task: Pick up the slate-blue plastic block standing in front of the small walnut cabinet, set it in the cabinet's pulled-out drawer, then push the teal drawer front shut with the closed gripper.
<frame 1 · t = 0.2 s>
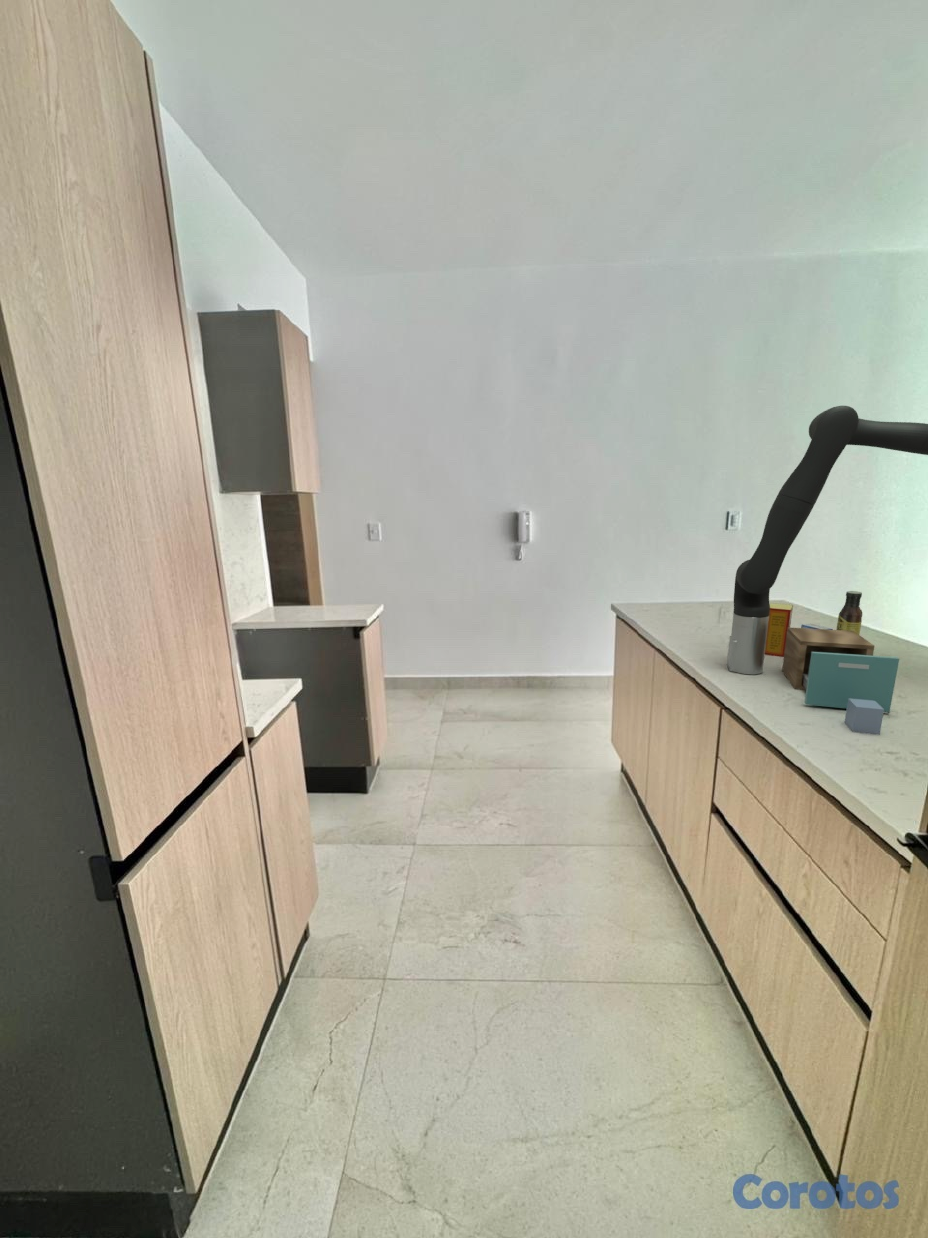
baking soda box: (774, 652, 168), on the counter
slate-blue block: (861, 728, 113), on the counter
drawer: (840, 672, 127), point 7 cm above the counter, slide at 11.0 cm
cabinet: (821, 682, 141), on the counter
sauce bottle: (844, 650, 168), on the counter
medicine box: (813, 652, 168), on the counter
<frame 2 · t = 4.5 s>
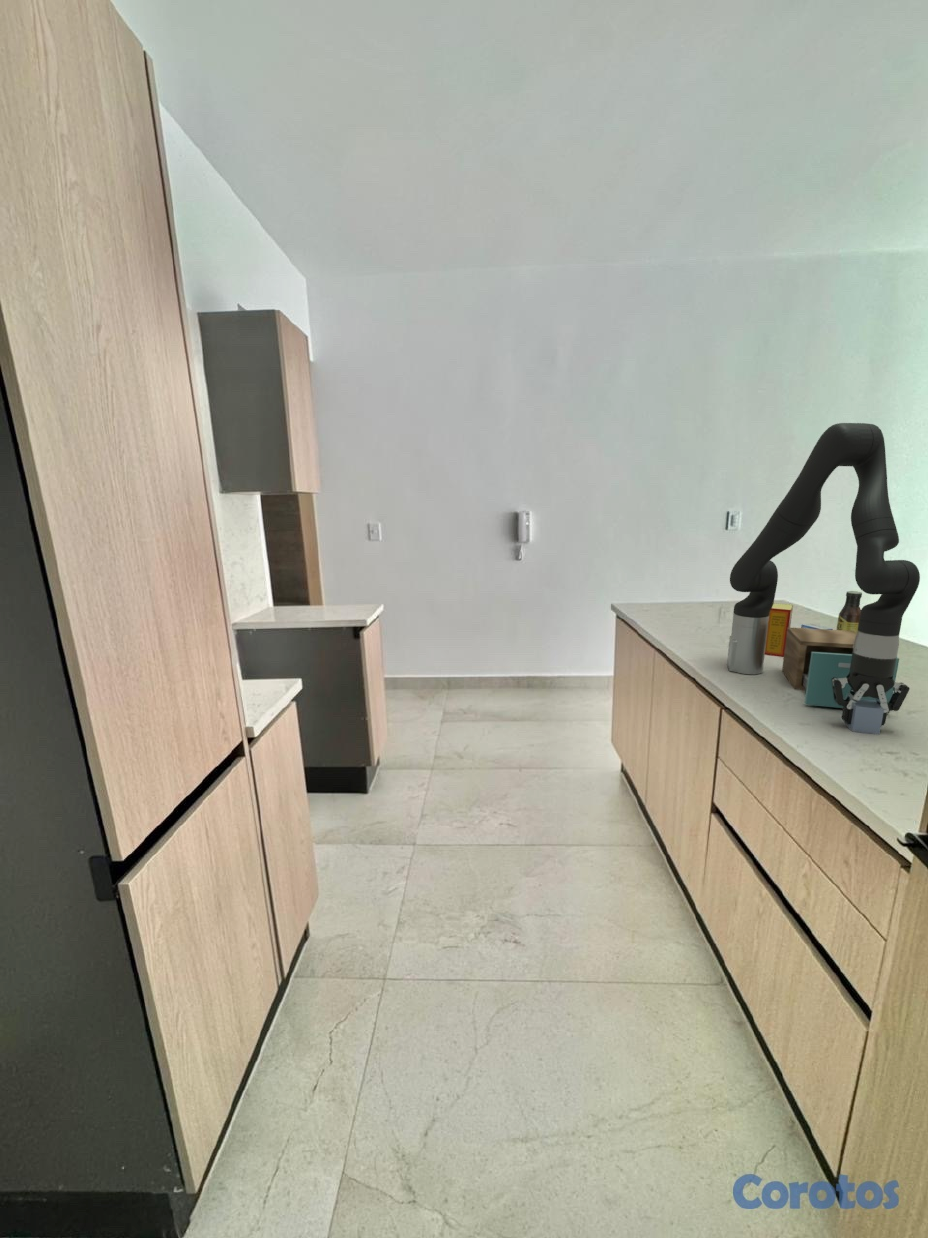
hand: (862, 724, 113), 1 cm above the counter, tool pointing down, fingers closed on slate-blue block, 5 cm apart
slate-blue block: (861, 728, 113), on the counter, touching gripper
everything else where it was.
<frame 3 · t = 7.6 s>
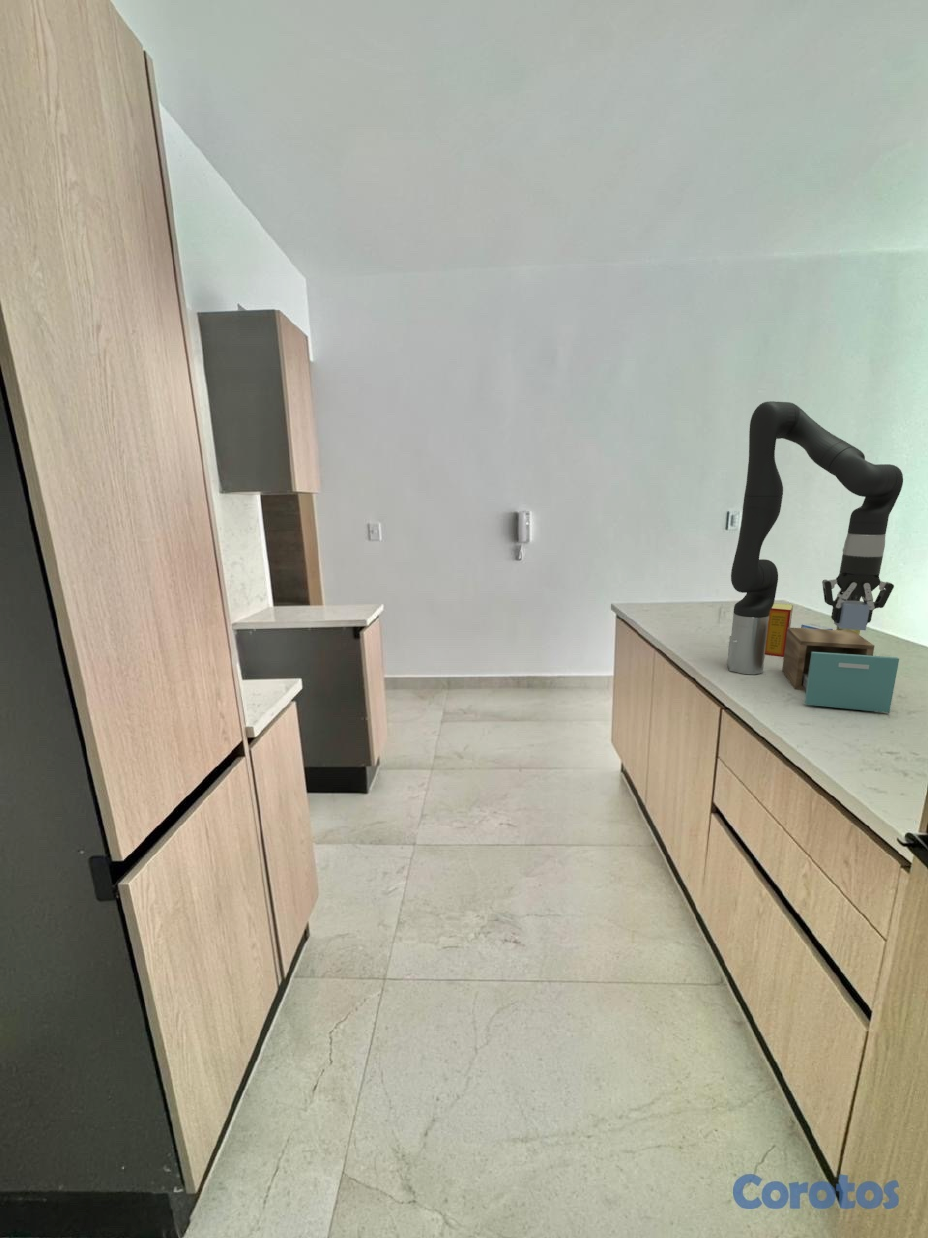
hand: (850, 622, 122), 21 cm above the counter, tool pointing down, fingers closed on slate-blue block, 5 cm apart
slate-blue block: (849, 626, 123), point 20 cm above the counter, touching gripper
everything else where it was.
when the fingers open (4 cm above the counter, at t = 10.7 s): slate-blue block stays where it is, resting on drawer.
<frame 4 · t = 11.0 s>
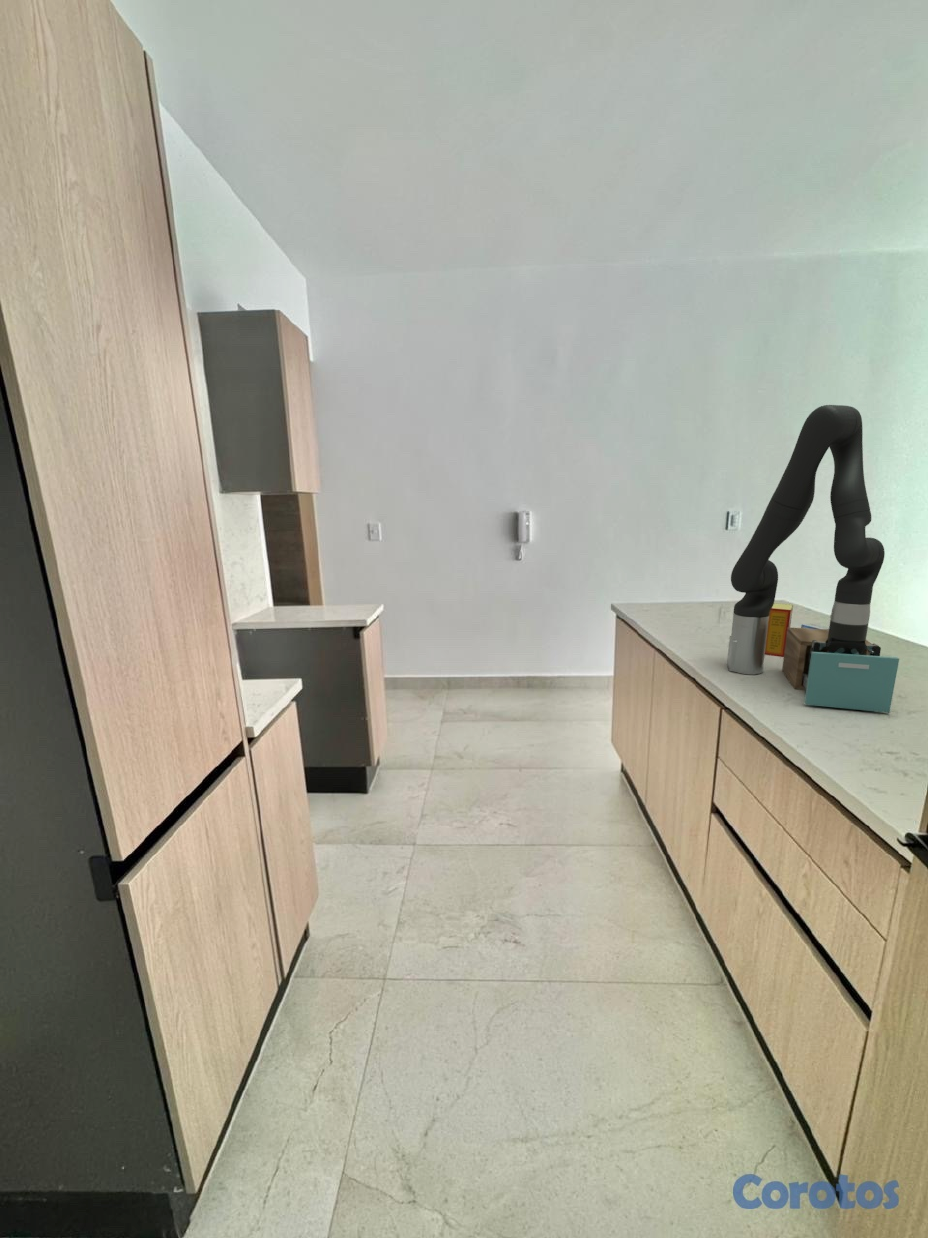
hand: (839, 682, 128), 5 cm above the counter, tool pointing down, fingers open, 8 cm apart
slate-blue block: (838, 691, 128), point 2 cm above the counter, touching drawer
drawer: (840, 672, 127), point 7 cm above the counter, slide at 11.0 cm, touching slate-blue block
everything else where it was.
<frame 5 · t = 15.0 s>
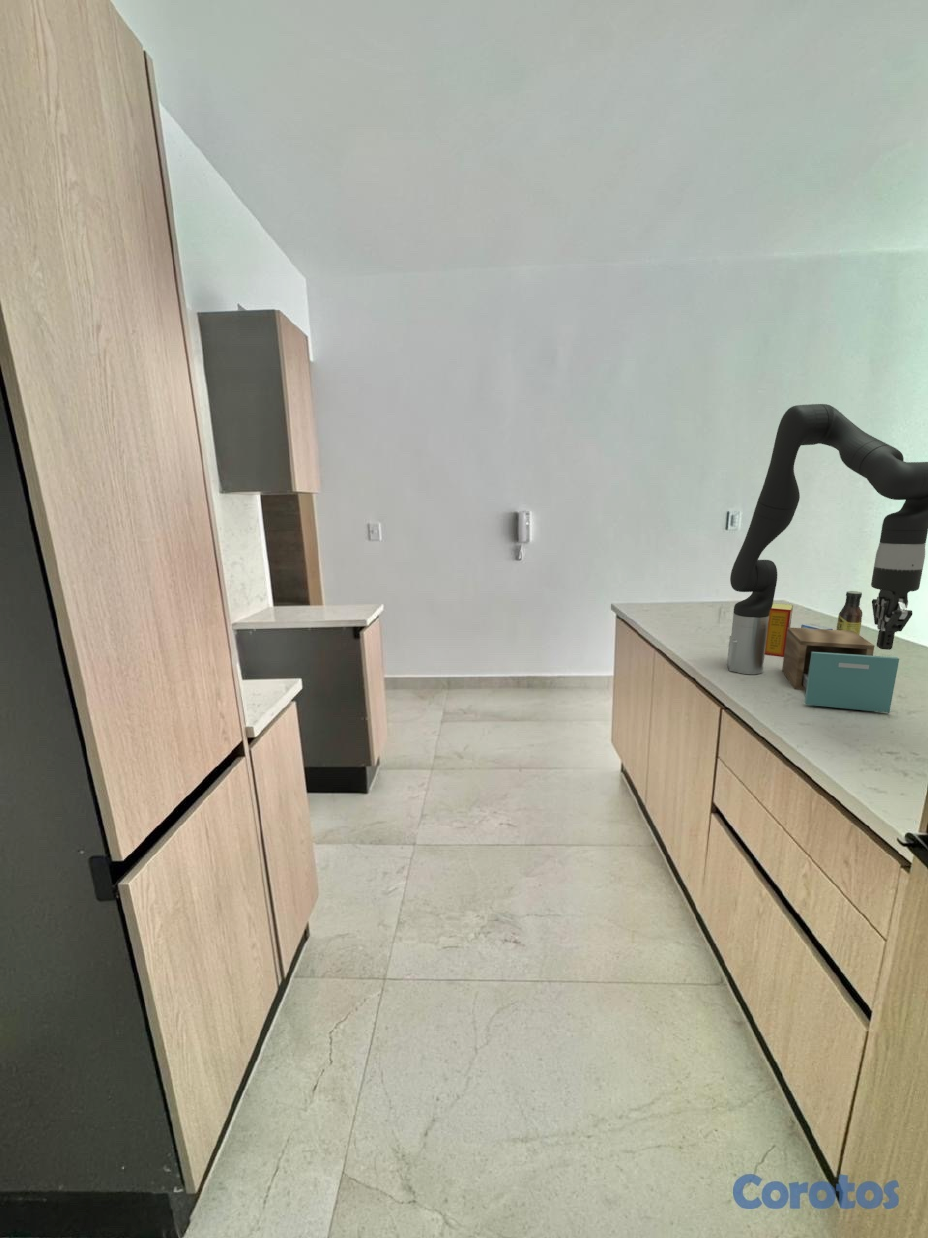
hand: (883, 648, 105), 20 cm above the counter, tool pointing down, fingers closed
nothing on the counter moved.
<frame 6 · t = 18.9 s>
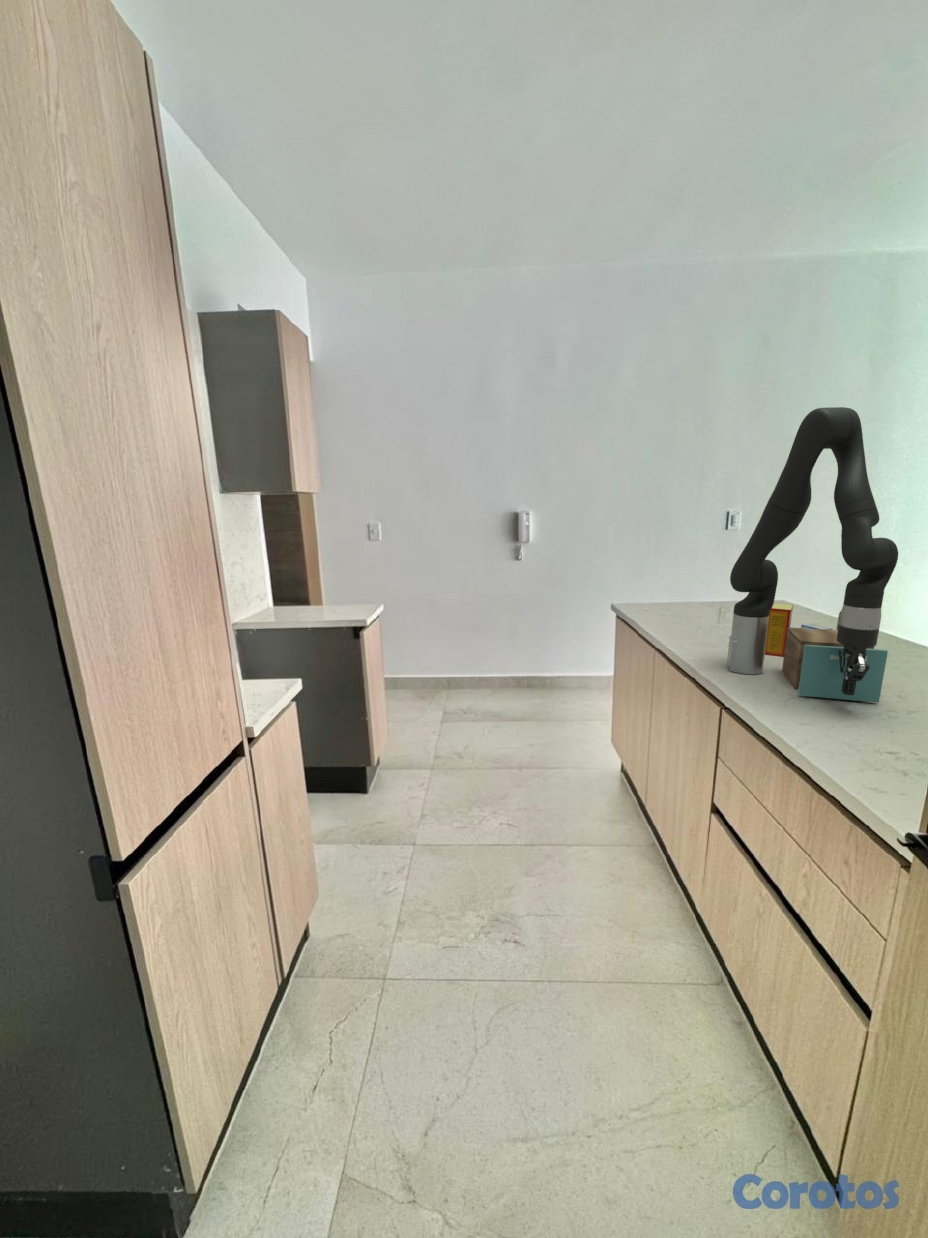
hand: (847, 693, 122), 4 cm above the counter, tool pointing down, fingers closed
slate-blue block: (830, 683, 134), point 2 cm above the counter, touching drawer
drawer: (832, 664, 133), point 7 cm above the counter, slide at 4.8 cm, touching hand, slate-blue block
everything else where it was.
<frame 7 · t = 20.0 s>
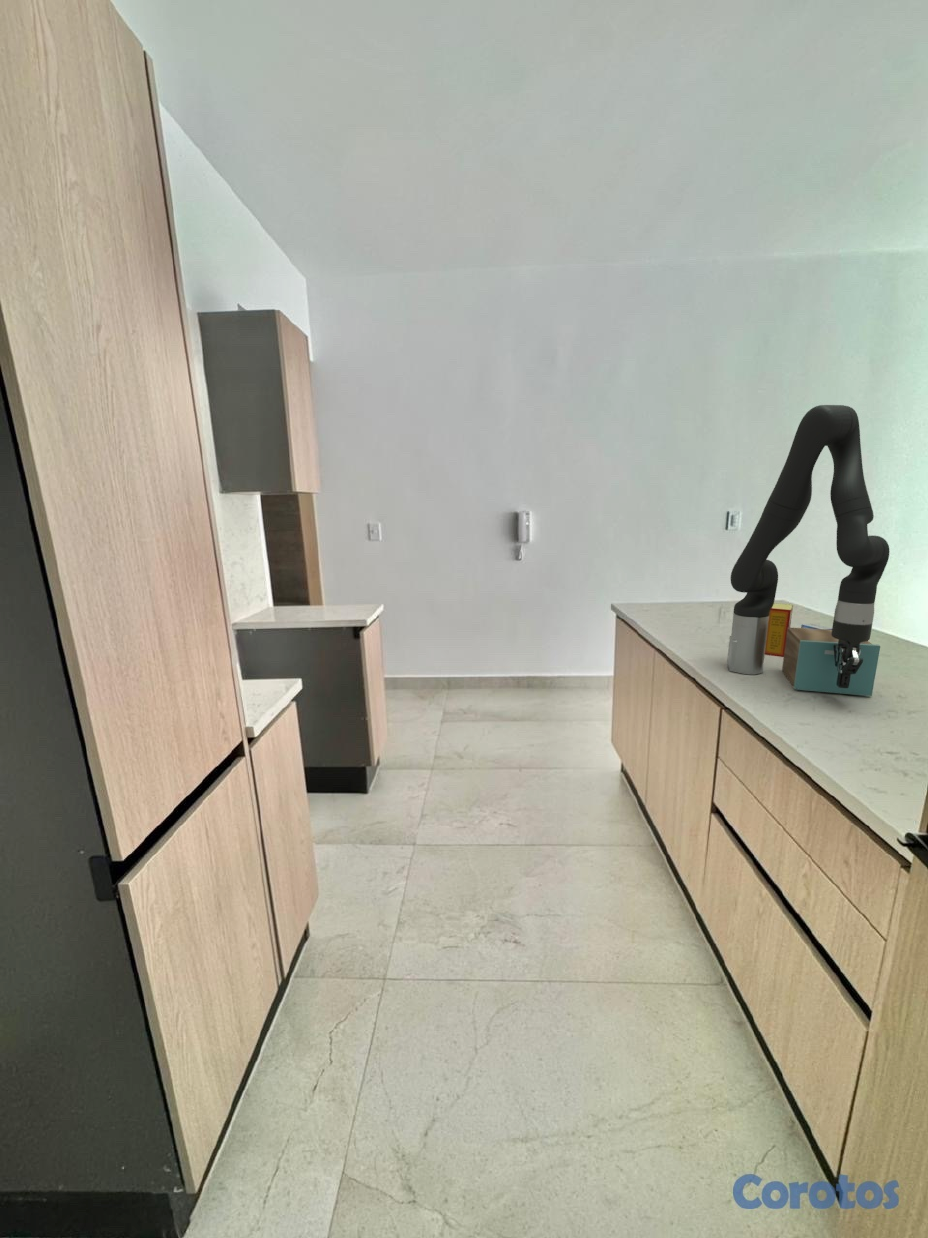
hand: (842, 687, 126), 4 cm above the counter, tool pointing down, fingers closed
slate-blue block: (825, 677, 138), point 2 cm above the counter, touching drawer
drawer: (827, 659, 137), point 7 cm above the counter, slide at 0.4 cm, touching hand, slate-blue block
everything else where it was.
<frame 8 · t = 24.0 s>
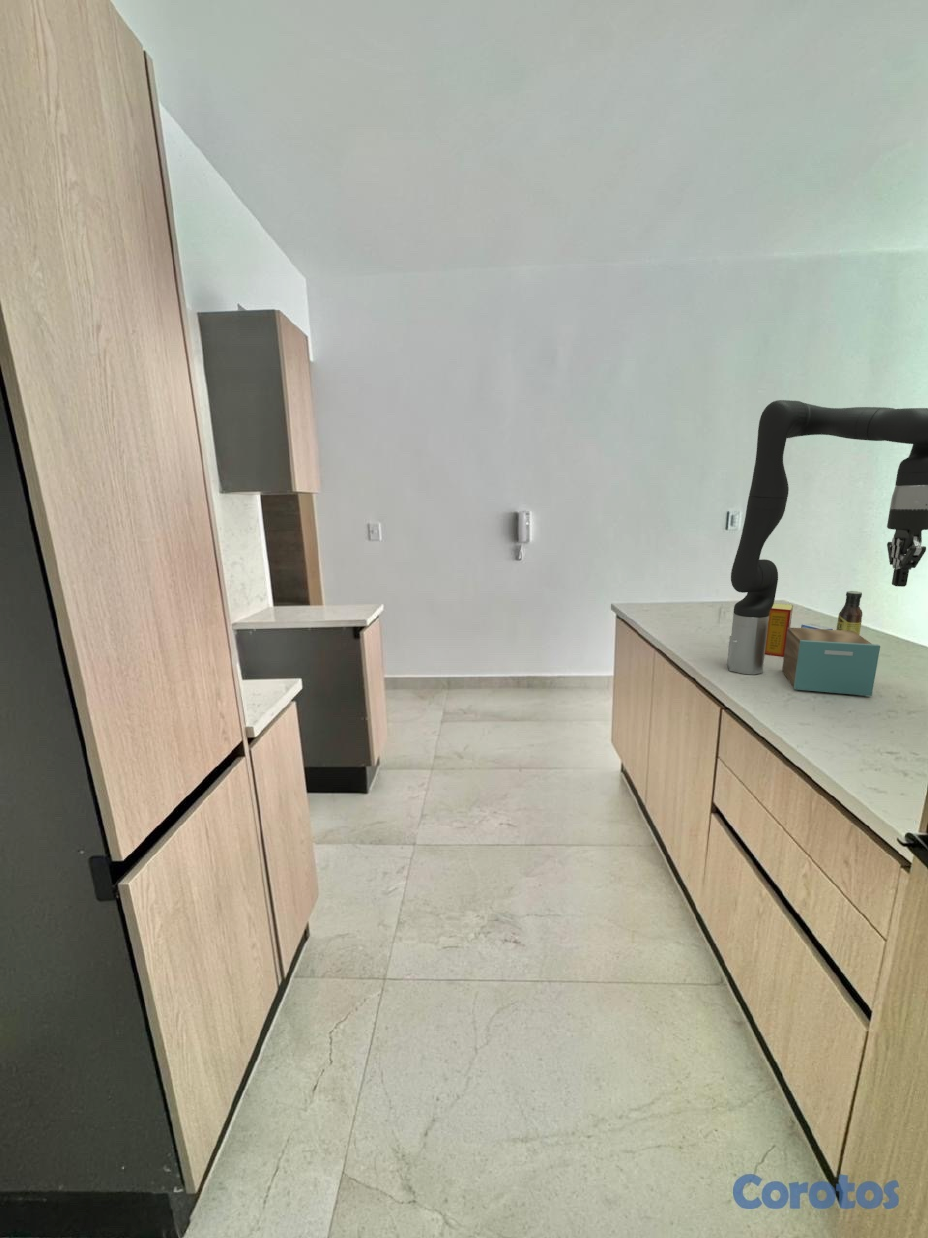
hand: (898, 585, 113), 31 cm above the counter, tool pointing down, fingers closed
drawer: (827, 659, 137), point 7 cm above the counter, slide at 0.3 cm, touching slate-blue block
everything else where it was.
at the end: drawer slide at 0.3 cm; slate-blue block inside the target area on the cabinet (1.8 cm from its centre), point 2.3 cm above the cabinet's base; slate-blue block tilted 0° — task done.
